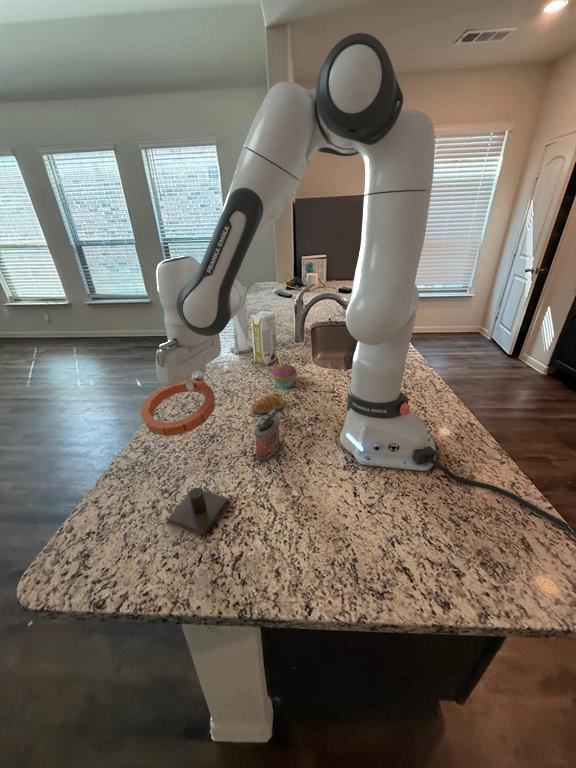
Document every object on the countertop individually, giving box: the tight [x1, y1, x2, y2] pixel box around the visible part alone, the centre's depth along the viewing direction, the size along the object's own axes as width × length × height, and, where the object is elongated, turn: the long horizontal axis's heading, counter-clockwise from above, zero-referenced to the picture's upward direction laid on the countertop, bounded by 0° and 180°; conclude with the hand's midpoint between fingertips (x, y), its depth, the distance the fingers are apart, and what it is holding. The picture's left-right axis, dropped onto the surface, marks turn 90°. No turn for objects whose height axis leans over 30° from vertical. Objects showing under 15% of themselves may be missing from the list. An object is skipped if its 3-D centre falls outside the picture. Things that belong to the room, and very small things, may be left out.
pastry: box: [251, 391, 285, 415], centre depth 92 cm, size 9×7×4 cm
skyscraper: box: [230, 286, 253, 355], centre depth 130 cm, size 8×8×28 cm
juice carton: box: [250, 310, 278, 366], centre depth 120 cm, size 8×9×19 cm
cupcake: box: [270, 351, 298, 389], centre depth 103 cm, size 9×8×12 cm
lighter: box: [253, 410, 281, 462], centre depth 73 cm, size 8×3×10 cm, turn 148°
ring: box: [140, 378, 216, 437], centre depth 73 cm, size 16×16×2 cm
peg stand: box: [167, 487, 229, 536], centre depth 59 cm, size 8×8×5 cm
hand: (196, 385), depth 78 cm, fingers closed on ring, 2 cm apart
